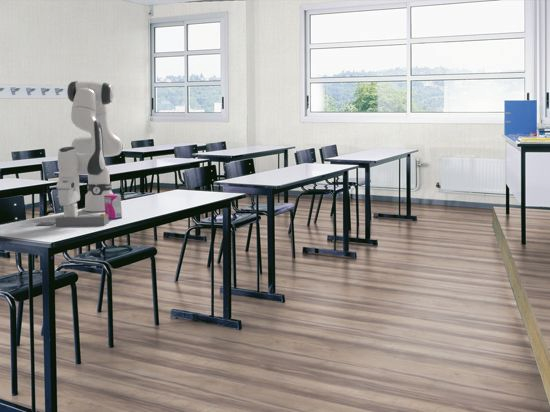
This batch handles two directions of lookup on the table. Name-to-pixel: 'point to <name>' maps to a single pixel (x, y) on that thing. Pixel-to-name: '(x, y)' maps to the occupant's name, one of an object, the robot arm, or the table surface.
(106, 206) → the supplement box
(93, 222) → the grey flat block
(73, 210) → the charger
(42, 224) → the mat
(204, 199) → the table surface
